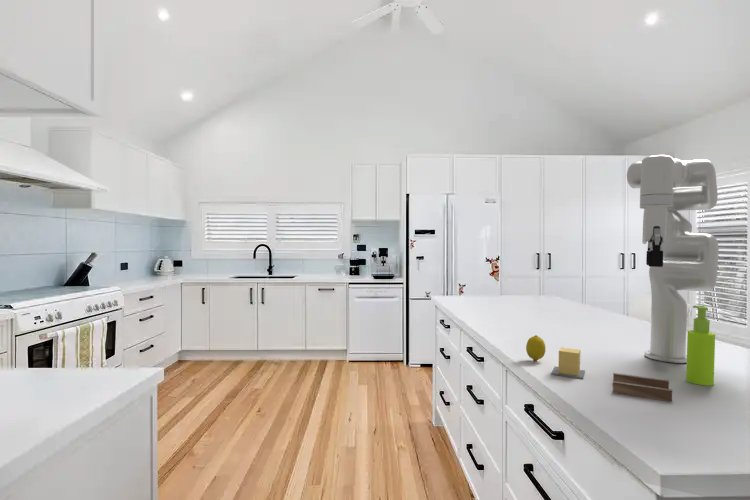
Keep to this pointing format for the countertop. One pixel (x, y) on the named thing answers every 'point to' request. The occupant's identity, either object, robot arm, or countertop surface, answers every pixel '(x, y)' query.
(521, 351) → the countertop surface
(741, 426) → the countertop surface
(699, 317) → the soap dispenser
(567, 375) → the slate coaster
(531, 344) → the lemon
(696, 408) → the countertop surface
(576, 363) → the ochre block
